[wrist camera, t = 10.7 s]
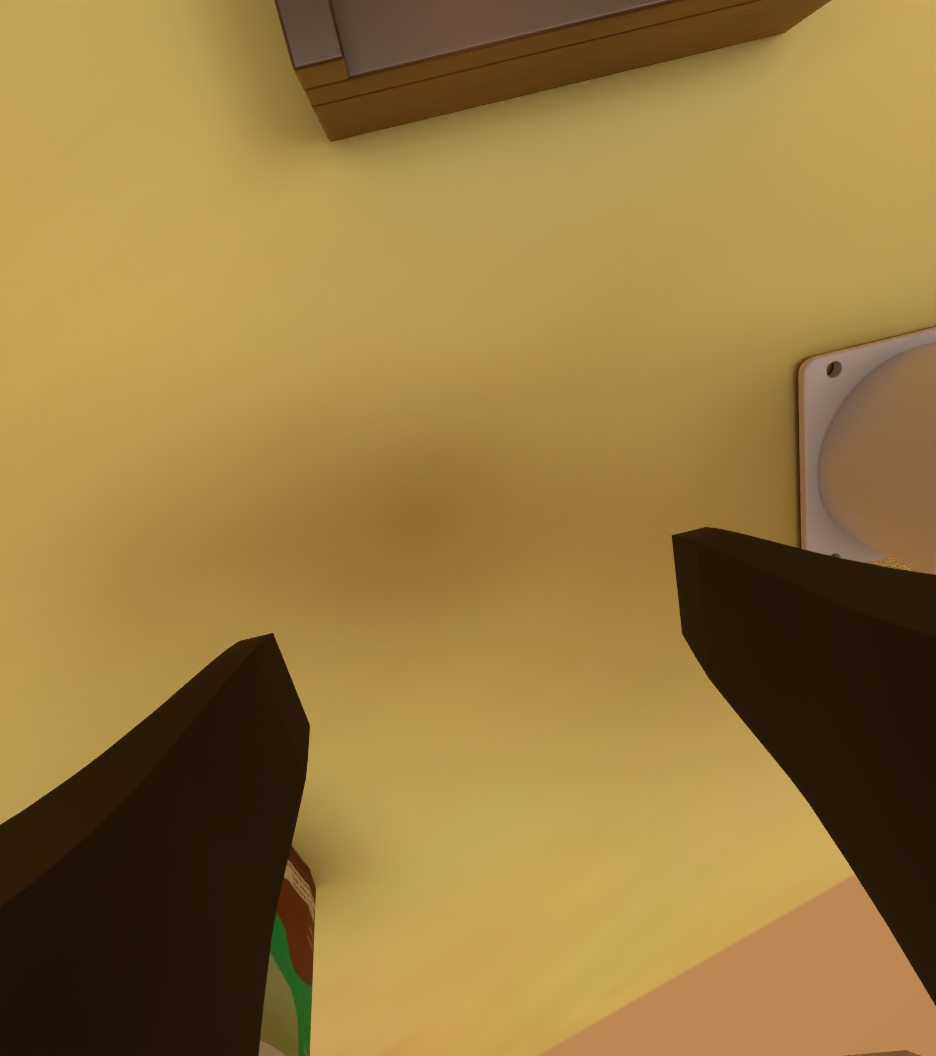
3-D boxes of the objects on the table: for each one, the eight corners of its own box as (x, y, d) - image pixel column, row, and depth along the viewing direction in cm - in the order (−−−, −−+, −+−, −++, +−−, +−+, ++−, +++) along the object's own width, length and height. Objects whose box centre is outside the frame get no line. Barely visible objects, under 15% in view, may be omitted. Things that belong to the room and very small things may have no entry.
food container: (332, 774, 24) (286, 1069, 15) (350, 884, 27) (320, 1201, 17) (10, 808, 24) (-249, 1143, 14) (57, 920, 26) (-141, 1272, 16)
